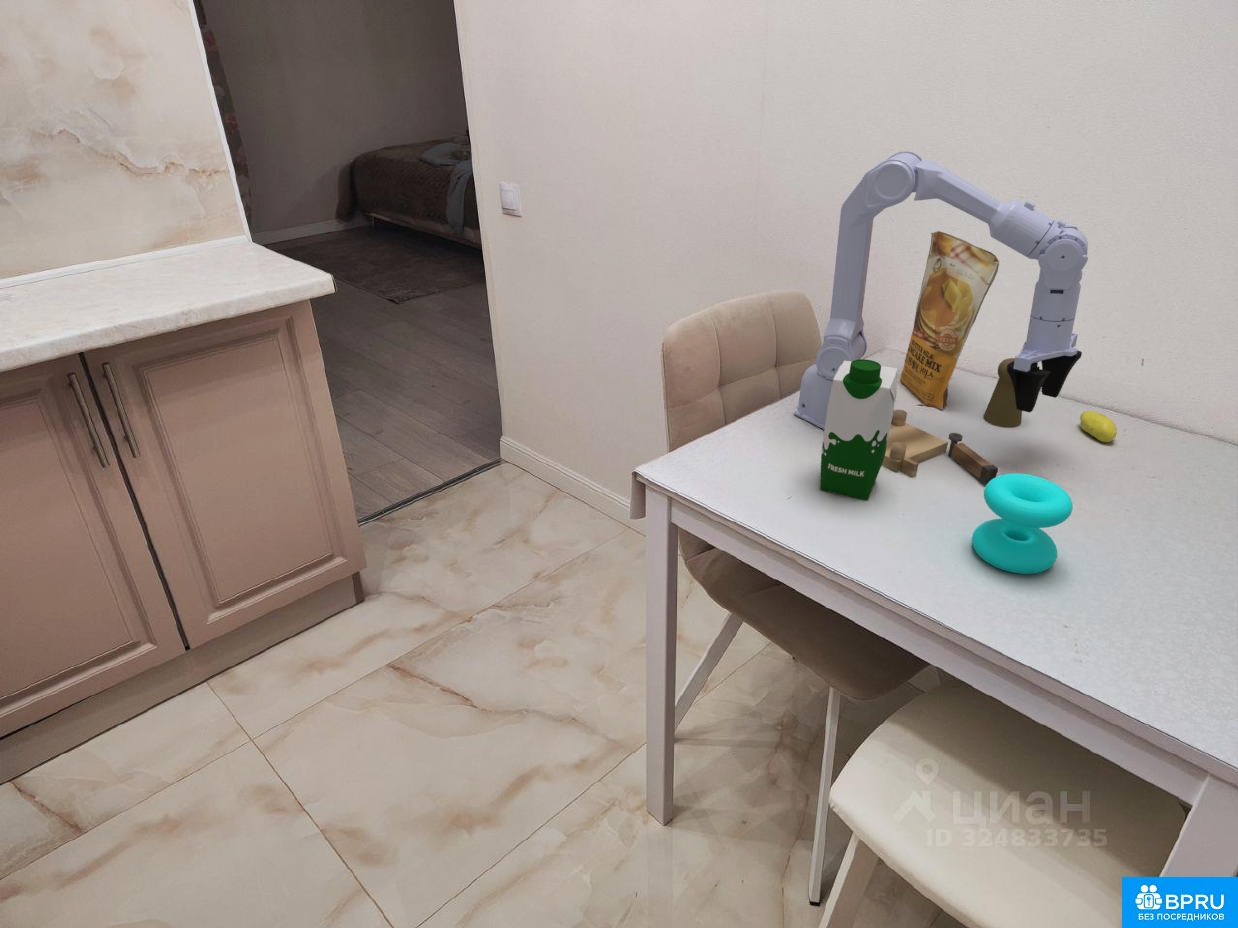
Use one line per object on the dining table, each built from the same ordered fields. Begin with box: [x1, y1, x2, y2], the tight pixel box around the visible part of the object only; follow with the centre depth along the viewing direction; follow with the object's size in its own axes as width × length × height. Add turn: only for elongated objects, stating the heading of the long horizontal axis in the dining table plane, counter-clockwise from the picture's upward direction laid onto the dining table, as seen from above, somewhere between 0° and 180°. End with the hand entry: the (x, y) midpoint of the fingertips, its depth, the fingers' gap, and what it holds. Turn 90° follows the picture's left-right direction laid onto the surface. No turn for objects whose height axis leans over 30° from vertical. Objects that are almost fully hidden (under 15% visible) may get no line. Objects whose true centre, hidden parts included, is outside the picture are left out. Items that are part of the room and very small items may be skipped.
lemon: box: [1079, 410, 1118, 443], centre depth 131 cm, size 4×8×4 cm, turn 179°
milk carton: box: [819, 358, 898, 501], centre depth 113 cm, size 9×9×20 cm
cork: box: [982, 357, 1023, 429], centre depth 135 cm, size 6×6×11 cm
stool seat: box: [881, 409, 963, 478], centre depth 126 cm, size 13×13×4 cm
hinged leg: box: [950, 442, 999, 485], centre depth 121 cm, size 9×2×2 cm, turn 13°
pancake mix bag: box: [900, 230, 1000, 411], centre depth 141 cm, size 7×19×28 cm, turn 6°
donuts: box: [971, 473, 1073, 575], centre depth 100 cm, size 10×10×10 cm
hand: (1037, 402), depth 120 cm, fingers open, 7 cm apart
